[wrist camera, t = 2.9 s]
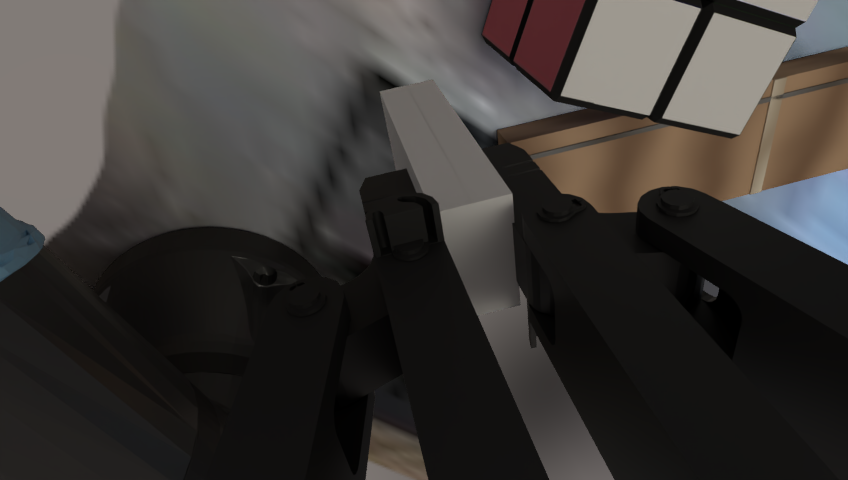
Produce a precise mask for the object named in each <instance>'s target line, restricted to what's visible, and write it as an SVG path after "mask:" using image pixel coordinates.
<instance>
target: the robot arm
mask: <svg viewBox="0 0 848 480" xmlns="http://www.w3.org/2000/svg"><path fill="white" fill-rule="evenodd" d="M380 95H381V100H382V105H383V110H384V115H385V119H386V124H387V129H388V134H389V139H390V144H391V149H392V153H393V158H394V163H395V168H396V171H393V172H389V173H385V174H381V175H376V176H372V177H368V178H365V180H364V182H363V184H362V186H361V188H360V190H359V191H360V195H361V199H362V203H363V208H364V212H365V216H366V225H367V229H368V233H369V237H370V241H371V244H372V248H373V252H374V256H373V259H372V262H371V264H370V265H369V266H368V268H367V269H366V270H365V271H364V272H363V273H362V274H360V275H359V276H358V277H356V278H354V279H353V280H351V281H349V282H347V283H345V284H343V285H341V286H340V284H339V283H338V282H337V281H335V280H332V279H330V278H327V277H320V275H319V274H318V272H317V271H316V270H315V269H314V268H313V267H312V266H311V265H310V264H309V263H308V262H307V261H306V260H305V259H304V258H302V257H301V256H300V255H298V254H297V253H296V252H294V251H293V250H291V249H289V248H288V247H286V246H284V245H282V244H280V243H278V242H276V241H274V240H271V239H269V238H266V237H263V236H260V235H257V234H253V233H250V232H245V231H240V230H234V229H225V228H195V229H187V230H180V231H175V232H171V233H167V234H163V235H160V236H157V237H154V238H152V239H149V240H147V241H145V242H142V243H141V244H139V245H137V246H135V247H133V248H131V249H130V250H128V251H127V252H125V253H124V254H123V255H121V256H120V257H119V258H118V259H116V260H115V261H114V262H113V263H112V264H111V265H110V266H109V267H108V268H107V269H106V271H105V272H104V273H103V274H102V276H101V277H100V279H99V280H98V282H97V284H96V286H95V288H94V290H92V289H91V288H90V287H88V286H87V285H86V284H85V283H84V282H83V281H82V280H81V279H80V278H79V277H78V276H77V275H75V274H74V273H73V272H72V271H71V270H70V269H69V268H68V267H67V266H66V265H65V264H64V263H63V262H61V261H60V260H59V259H58V258H57V257H56V256H55V255H54V254H53V253H52V252H51V251H50V250H48V249H47V248H46V247H45V246H44V245H43V244H44V241H45V237H44V235H43V234H41V233H40V232H39V231H38V230H37V229H36V228H35V227H34V226H33V225H29V224H26V223H24V222H23V221H19V220H16V219H14V218H13V217H12V216H11V215H10V214H8V213H7V212H6V211H5V210H3V209H2V208H1V207H0V480H365V479H366V470H367V462H368V454H369V445H370V437H371V429H372V420H373V412H374V404H375V392H374V390H376V389H377V388H379V387H381V386H383V385H384V384H386V383H388V382H389V381H391V380H393V379H395V378H396V377H398V376H400V375H401V374H403V376H404V380H405V385H406V389H407V393H408V397H409V401H410V405H411V409H412V414H413V418H414V422H415V426H416V430H417V434H418V438H419V443H420V447H421V451H422V455H423V459H424V463H425V467H426V472H427V476H428V480H549V478H548V476H547V473H546V471H545V469H544V467H543V464H542V462H541V460H540V458H539V455H538V453H537V451H536V449H535V446H534V444H533V441H532V439H531V437H530V435H529V432H528V430H527V428H526V425H525V423H524V421H523V419H522V416H521V414H520V412H519V410H518V407H517V405H516V403H515V400H514V398H513V396H512V393H511V391H510V389H509V387H508V385H507V382H506V380H505V377H504V375H503V373H502V371H501V368H500V366H499V364H498V362H497V359H496V357H495V355H494V352H493V350H492V348H491V346H490V343H489V341H488V339H487V337H486V334H485V332H484V330H483V327H482V325H481V323H480V321H479V318H478V316H480V315H484V314H488V313H492V312H496V311H499V310H503V309H507V308H511V307H515V306H518V305H520V293H519V286H520V288H521V290H522V291H523V293H524V295H525V297H526V298H527V308H528V325H529V340H530V345H531V348H535V347H536V336H538V337H539V340H540V342H541V344H542V345H543V347H544V349H545V351H546V353H547V355H548V357H549V359H550V360H551V362H552V364H553V366H554V368H555V370H556V372H557V373H558V375H559V377H560V379H561V381H562V383H563V384H564V387H565V388H566V390H567V392H568V394H569V396H570V397H571V399H572V401H573V403H574V405H575V407H576V409H577V411H578V412H579V414H580V416H581V418H582V420H583V422H584V424H585V426H586V427H587V429H588V431H589V433H590V435H591V437H592V439H593V440H594V442H595V444H596V446H597V448H598V450H599V452H600V454H601V455H602V457H603V459H604V461H605V463H606V465H607V466H608V468H609V470H610V472H611V474H612V476H613V478H614V479H615V480H848V265H847V264H845V263H843V262H841V261H839V260H837V259H835V258H833V257H831V256H829V255H827V254H825V253H823V252H821V251H819V250H817V249H815V248H813V247H811V246H809V245H807V244H805V243H803V242H801V241H799V240H797V239H795V238H793V237H791V236H789V235H787V234H785V233H783V232H781V231H779V230H777V229H775V228H773V227H771V226H769V225H767V224H765V223H763V222H761V221H759V220H758V219H756V218H754V217H752V216H750V215H748V214H746V213H744V212H742V211H740V210H738V209H736V208H734V207H732V206H730V205H728V204H726V203H724V202H722V201H720V200H718V199H716V198H714V197H712V196H710V195H708V194H706V193H703V192H701V191H698V190H695V189H692V188H686V187H680V186H671V187H669V186H667V187H660V188H657V189H653V190H650V191H648V192H647V193H645V194H643V195H642V196H641V197H640V199H639V201H638V204H637V212H623V213H598V212H597V210H596V209H595V208H594V207H593V206H592V205H591V204H590V203H589V202H587V201H586V200H585V199H583V198H581V197H578V196H575V195H571V194H562V193H561V192H560V191H559V190H558V189H557V187H556V186H555V185H554V184H553V183H552V182H551V180H550V179H549V178H548V177H547V176H546V175H545V173H544V172H543V171H542V170H540V167H539V166H538V165H537V164H536V163H535V162H533V159H532V158H531V157H530V156H529V154H528V153H527V152H526V151H525V150H524V149H522V148H520V147H518V146H515V145H513V144H511V143H509V142H508V143H504V144H500V145H496V146H491V147H487V148H483V149H481V148H480V146H479V145H478V144H477V142H476V141H475V139H474V138H473V136H472V135H471V134H470V132H469V131H468V129H467V128H466V126H465V125H464V124H463V122H462V121H461V119H460V118H459V116H458V115H457V114H456V112H455V111H454V109H453V108H452V106H451V105H450V104H449V102H448V101H447V99H446V98H445V96H444V95H443V94H442V92H441V91H440V89H439V88H438V86H437V85H436V84H435V82H434V81H433V80H429V81H424V82H420V83H415V84H411V85H406V86H402V87H398V88H393V89H389V90H384V91H380ZM705 279H706V280H707V281H709V282H711V283H712V284H714V285H715V286H717V287H719V293H718V296H717V297H713V296H711V295H709V294H708V293H706V292H705V291H703V287H704V281H705Z"/></svg>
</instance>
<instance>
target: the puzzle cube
mask: <svg viewBox="0 0 848 480" xmlns="http://www.w3.org/2000/svg"><path fill="white" fill-rule="evenodd" d="M817 2H818V0H492V3H491V7H490V10H489V13H488V16H487V20H486V23H485V26H484V30H483V33H482V36H483V38H484V40H485V42H486V43H487V44H488V45H489V46H491V47H492V48H493V49H494V50H495V51H496V52H498V53H499V54H500V55H501V56H502V57H503V58H505V59H506V60H507V61H508V62H509V63H510V64H512V65H513V66H516V68H517V70H518V71H520V72H521V73H522V74H523V75H524V76H525V77H527V78H528V79H529V80H530V81H531V82H532V83H534V84H535V85H536V86H537V87H538V88H539V89H541V90H542V91H543V92H544V93H545V94H546V95H547V96H549V97H550V98H551V99H552V100H553V101H556V102H561V103H566V104H570V105H575V106H580V107H584V108H589V109H594V110H599V111H603V112H608V113H613V114H617V115H622V116H627V117H631V118H636V119H641V120H643V119H644V118H646V117H647V118H649V119H650V120H651V121H653V122H655V123H660V124H664V125H669V126H674V127H678V128H683V129H688V130H692V131H697V132H702V133H707V134H711V135H716V136H721V137H725V138H730V139H732V138H735V137H737V136H739V135H740V134H741V132H742V131H743V129H744V127H745V126H746V124H747V122H748V120H749V119H750V117H751V115H752V113H753V112H754V110H755V108H756V107H757V105H758V103H759V101H760V100H761V98H762V96H763V94H764V93H765V91H766V89H767V88H768V86H769V84H770V82H771V81H772V79H773V77H774V75H775V74H776V72H777V70H778V69H779V67H780V65H781V63H782V62H783V60H784V58H785V56H786V55H787V53H788V51H789V50H790V48H791V46H792V44H793V43H794V41H795V39H796V30H795V28H796V27H798V26H799V25H801V24H803V23H805V22H806V21H807V19H808V17H809V15H810V14H811V12H812V10H813V9H814V7H815V5H816V3H817Z"/></svg>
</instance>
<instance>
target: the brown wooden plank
mask: <svg viewBox="0 0 848 480" xmlns="http://www.w3.org/2000/svg"><path fill="white" fill-rule="evenodd" d="M497 135H498V145H500V144H504V143H508V142H509V143H511V144H513V145H515V146H518V147H520V148H522V149H524V150H525V151H526V152H527V153H528V154H529V156H530V157H531V158H532V159H533V162H535V163H536V164H537V165H538V166H539V167H540V170H542V171H543V172H544V173H545V175H546V176H547V177H548V178H549V179H550V180H551V182H552V183H553V184H554V185H555V186H556V187H557V189H558V190H559V191H560V192H561V193H562V194H571V195H575V196H578V197H581V198H583V199H585V200H586V201H587V202H589V203H590V204H591V205H592V206H593V207H594V208H595V209H596V210H597V212H598V213H623V212H637V204H638V201H639V199H640V197H641V196H642V195H643V194H645V193H647V192H648V191H650V190H653V189H657V188H660V187H667V186H669V187H671V186H680V187H686V188H692V189H695V190H698V191H701V192H703V193H706V194H708V195H710V196H712V197H714V198H716V199H718V200H720V201H724V200H728V199H731V198H735V197H739V196H743V195H747V194H750V195H751V194H755V193H758V192H761V191H762V190H766V189H770V188H774V187H778V186H782V185H786V184H790V183H793V182H797V181H801V180H805V179H809V178H813V177H817V176H821V175H824V174H828V173H832V172H836V171H840V170H844V169H848V47H844V48H840V49H836V50H832V51H828V52H823V53H819V54H815V55H811V56H806V57H802V58H798V59H794V60H790V61H785V62H782V63H781V65H780V67H779V69H778V70H777V72H776V74H775V75H774V77H773V79H772V81H771V82H770V84H769V86H768V88H767V89H766V91H765V93H764V94H763V96H762V98H761V100H760V101H759V103H758V105H757V107H756V108H755V110H754V112H753V113H752V115H751V117H750V119H749V120H748V122H747V124H746V126H745V127H744V129H743V131H742V132H741V134H740V135H739V136H737V137H735V138H732V139H730V138H725V137H721V136H716V135H711V134H707V133H702V132H697V131H692V130H688V129H683V128H678V127H674V126H669V125H664V124H660V123H655V122H653V121H651V120H650V119H649V118H647V117H646V118H644V119H643V120H641V119H636V118H631V117H627V116H622V115H617V114H613V113H608V112H603V111H599V110H594V109H589V108H588V109H583V110H579V111H575V112H571V113H567V114H562V115H558V116H554V117H550V118H545V119H541V120H537V121H533V122H529V123H524V124H520V125H516V126H512V127H508V128H503V129H499V130H497Z"/></svg>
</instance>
